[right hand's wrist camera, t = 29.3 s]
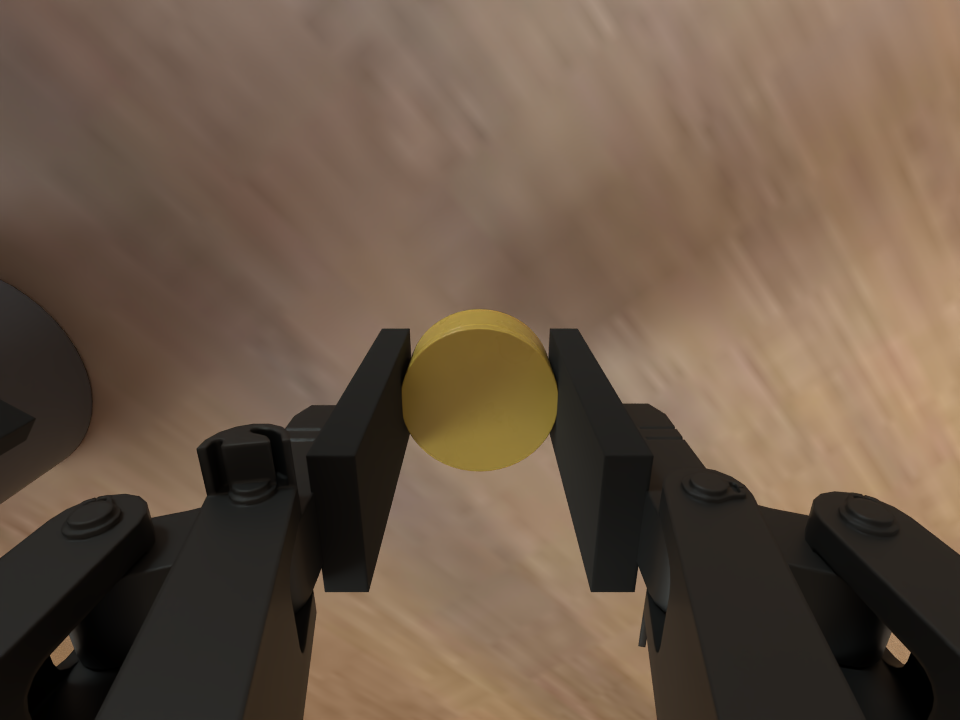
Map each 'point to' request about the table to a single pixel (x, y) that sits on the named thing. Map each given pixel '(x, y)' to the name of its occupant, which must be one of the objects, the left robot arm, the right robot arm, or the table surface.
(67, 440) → the bottle
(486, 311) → the cap
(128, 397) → the table surface
